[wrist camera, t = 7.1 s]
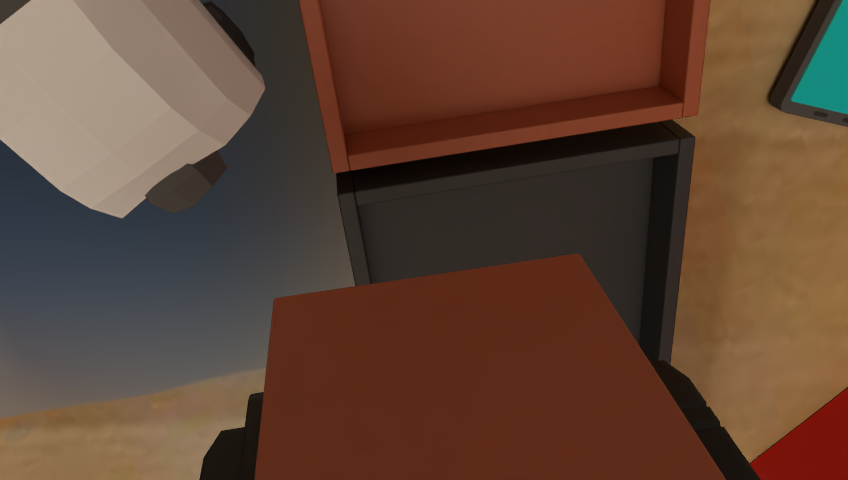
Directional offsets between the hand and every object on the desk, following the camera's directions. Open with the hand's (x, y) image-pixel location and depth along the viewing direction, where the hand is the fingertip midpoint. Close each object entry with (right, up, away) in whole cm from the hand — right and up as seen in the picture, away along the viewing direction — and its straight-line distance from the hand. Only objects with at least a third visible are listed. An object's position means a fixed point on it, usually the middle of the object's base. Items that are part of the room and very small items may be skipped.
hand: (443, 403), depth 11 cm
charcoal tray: (+4, 0, +18) cm, 19 cm away
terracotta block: (0, 0, 0) cm, 0 cm away
